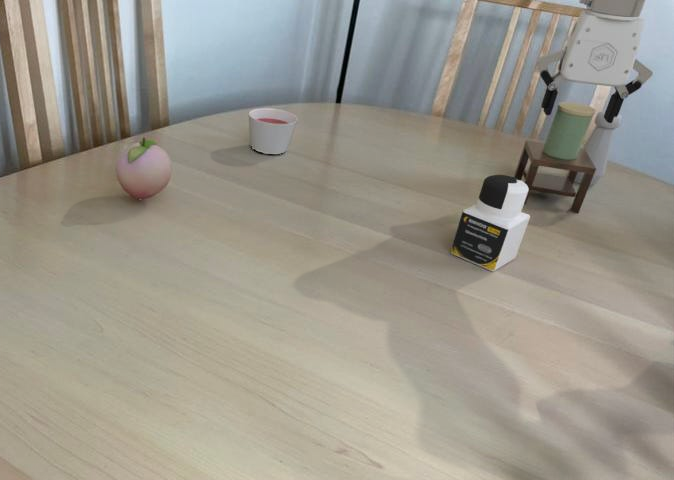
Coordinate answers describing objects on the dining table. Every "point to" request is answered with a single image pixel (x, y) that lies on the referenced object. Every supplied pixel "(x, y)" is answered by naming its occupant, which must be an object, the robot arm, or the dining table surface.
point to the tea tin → (568, 130)
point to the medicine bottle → (493, 224)
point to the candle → (271, 129)
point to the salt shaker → (599, 145)
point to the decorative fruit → (143, 169)
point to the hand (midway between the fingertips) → (576, 116)
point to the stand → (554, 182)
